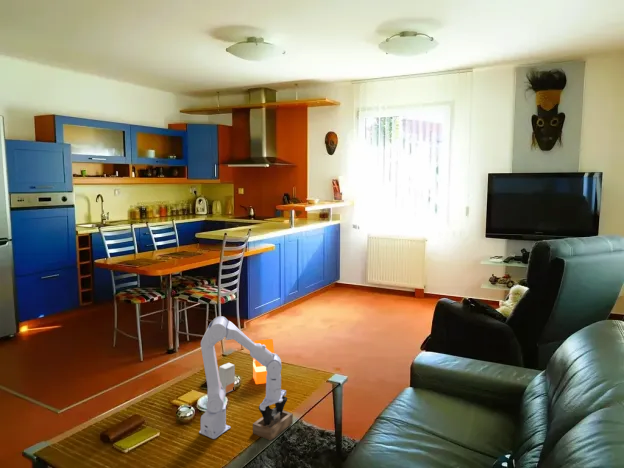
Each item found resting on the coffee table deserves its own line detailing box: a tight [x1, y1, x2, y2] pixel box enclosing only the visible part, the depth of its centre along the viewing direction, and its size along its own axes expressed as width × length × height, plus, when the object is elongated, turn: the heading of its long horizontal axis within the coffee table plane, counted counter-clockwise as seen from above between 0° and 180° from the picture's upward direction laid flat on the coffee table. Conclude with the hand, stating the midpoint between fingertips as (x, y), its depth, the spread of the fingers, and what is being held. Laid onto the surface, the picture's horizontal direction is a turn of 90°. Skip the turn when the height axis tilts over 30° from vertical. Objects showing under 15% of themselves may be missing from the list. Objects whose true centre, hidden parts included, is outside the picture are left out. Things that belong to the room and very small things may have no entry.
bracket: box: [266, 407, 280, 428], centre depth 183 cm, size 4×4×7 cm
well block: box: [252, 409, 294, 441], centre depth 183 cm, size 14×8×4 cm, turn 148°
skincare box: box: [218, 362, 236, 394], centre depth 212 cm, size 6×4×12 cm
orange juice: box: [252, 338, 275, 385], centre depth 223 cm, size 8×9×20 cm
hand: (273, 419), depth 183 cm, fingers open, 7 cm apart
